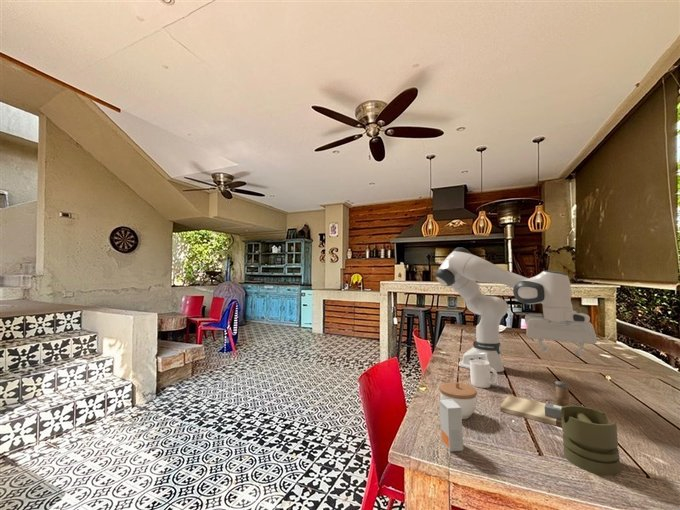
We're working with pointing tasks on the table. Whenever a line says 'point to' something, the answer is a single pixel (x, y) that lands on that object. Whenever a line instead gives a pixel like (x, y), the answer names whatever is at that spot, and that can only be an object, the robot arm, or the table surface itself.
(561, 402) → the peg
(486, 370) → the mug
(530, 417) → the plank
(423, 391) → the table surface
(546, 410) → the block
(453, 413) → the skincare box
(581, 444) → the piston
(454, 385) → the lidded bowl
